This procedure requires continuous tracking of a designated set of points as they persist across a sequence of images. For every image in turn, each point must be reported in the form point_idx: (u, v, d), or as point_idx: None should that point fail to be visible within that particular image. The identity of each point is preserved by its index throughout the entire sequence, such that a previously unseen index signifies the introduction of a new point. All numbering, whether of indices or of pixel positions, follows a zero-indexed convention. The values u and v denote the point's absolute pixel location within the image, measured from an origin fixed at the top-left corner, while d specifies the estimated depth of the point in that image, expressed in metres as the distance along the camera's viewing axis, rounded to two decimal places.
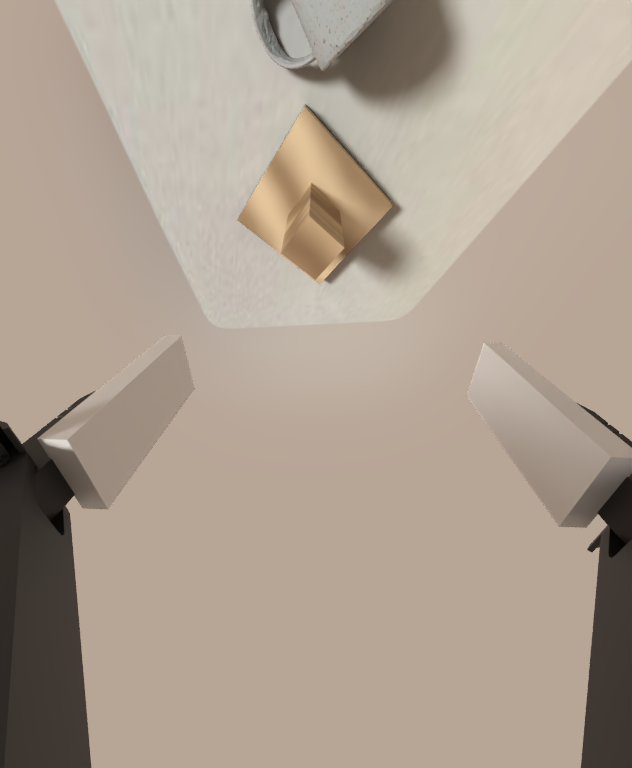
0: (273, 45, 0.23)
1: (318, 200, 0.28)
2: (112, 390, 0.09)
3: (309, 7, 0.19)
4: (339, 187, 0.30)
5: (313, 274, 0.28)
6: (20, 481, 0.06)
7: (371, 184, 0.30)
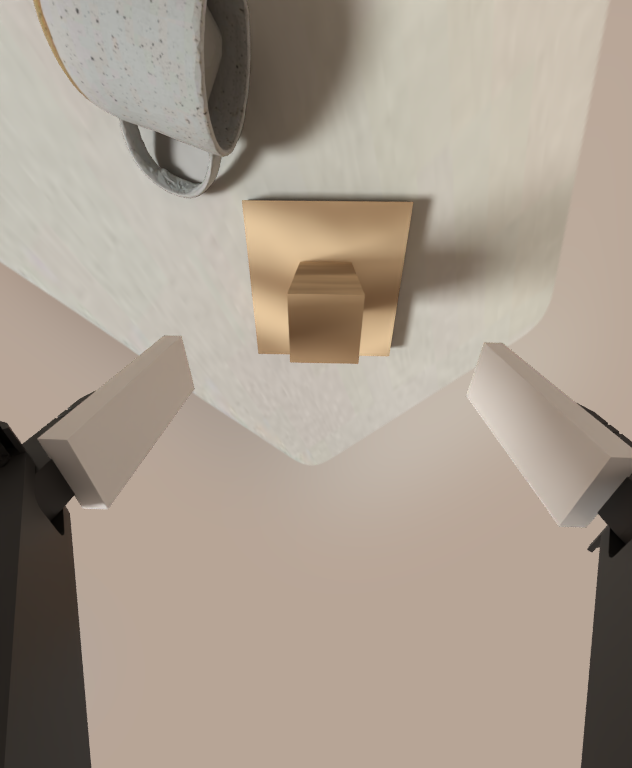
0: (184, 187, 0.21)
1: (310, 270, 0.20)
2: (112, 390, 0.09)
3: (155, 110, 0.15)
4: (332, 239, 0.22)
5: (350, 357, 0.17)
6: (20, 481, 0.06)
7: (366, 204, 0.21)
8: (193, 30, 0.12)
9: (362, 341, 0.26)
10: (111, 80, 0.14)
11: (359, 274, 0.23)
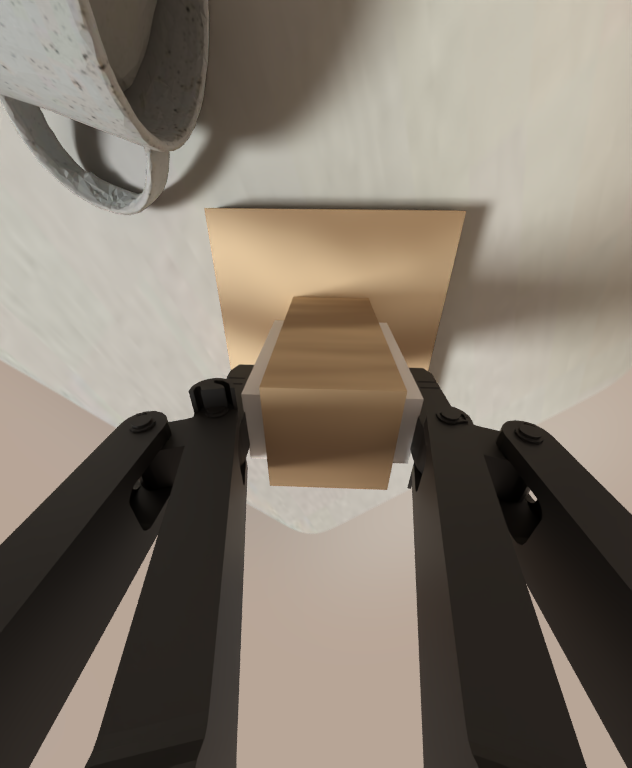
0: (120, 198, 0.14)
1: (307, 317, 0.13)
2: None
3: (18, 64, 0.08)
4: (341, 266, 0.15)
5: (373, 481, 0.10)
6: (233, 434, 0.08)
7: (394, 214, 0.13)
8: None
9: None
10: None
11: (379, 314, 0.16)
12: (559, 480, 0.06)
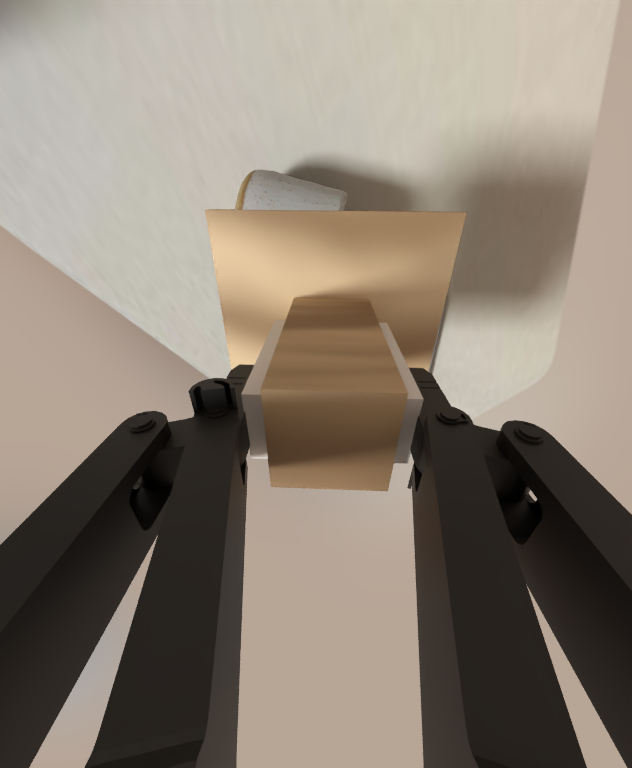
0: None
1: (308, 318, 0.13)
2: (269, 361, 0.11)
3: None
4: (341, 267, 0.15)
5: (374, 483, 0.10)
6: (233, 434, 0.08)
7: (394, 215, 0.13)
8: None
9: None
10: None
11: (379, 315, 0.16)
12: (559, 480, 0.06)
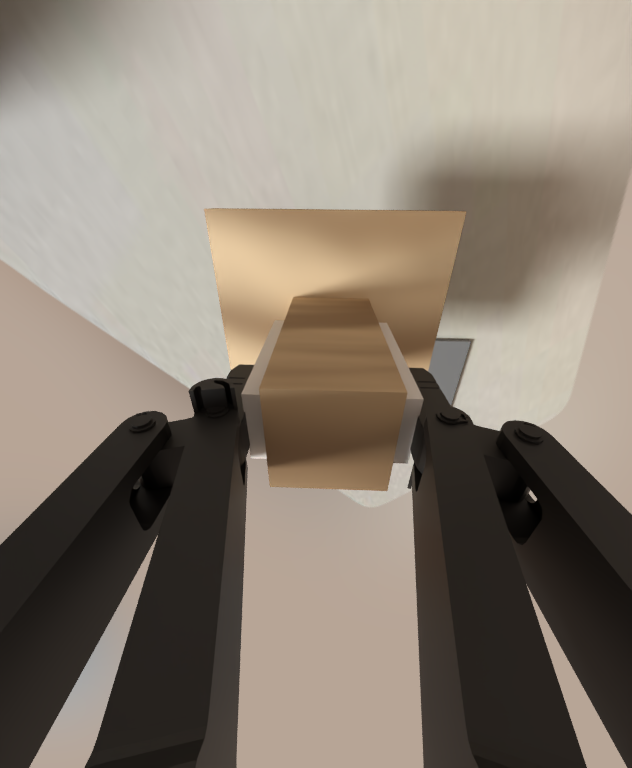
0: None
1: (307, 317, 0.13)
2: None
3: None
4: (341, 266, 0.15)
5: (373, 482, 0.10)
6: (233, 433, 0.08)
7: (394, 214, 0.13)
8: None
9: None
10: None
11: (379, 315, 0.16)
12: (559, 480, 0.06)
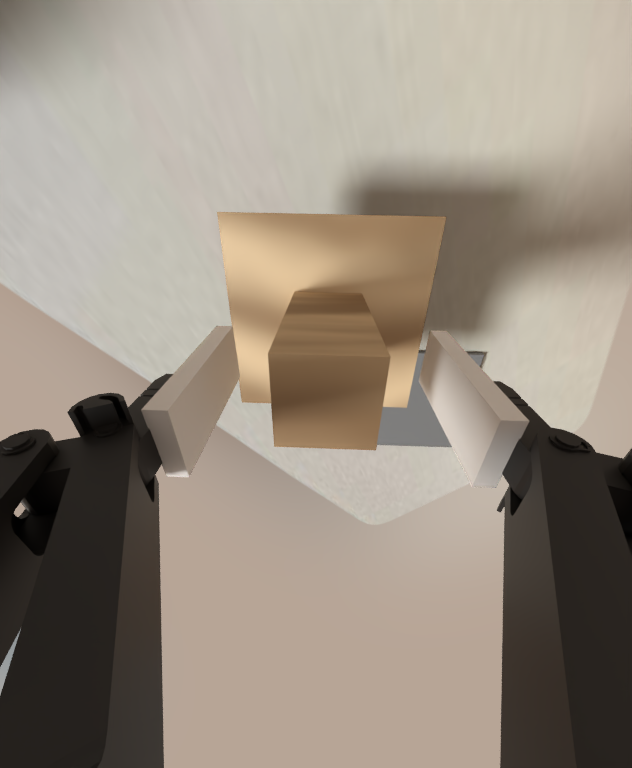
0: None
1: (307, 306, 0.15)
2: (189, 371, 0.10)
3: None
4: (337, 264, 0.17)
5: (364, 442, 0.11)
6: (129, 449, 0.07)
7: (384, 218, 0.15)
8: None
9: None
10: None
11: (371, 308, 0.18)
12: None
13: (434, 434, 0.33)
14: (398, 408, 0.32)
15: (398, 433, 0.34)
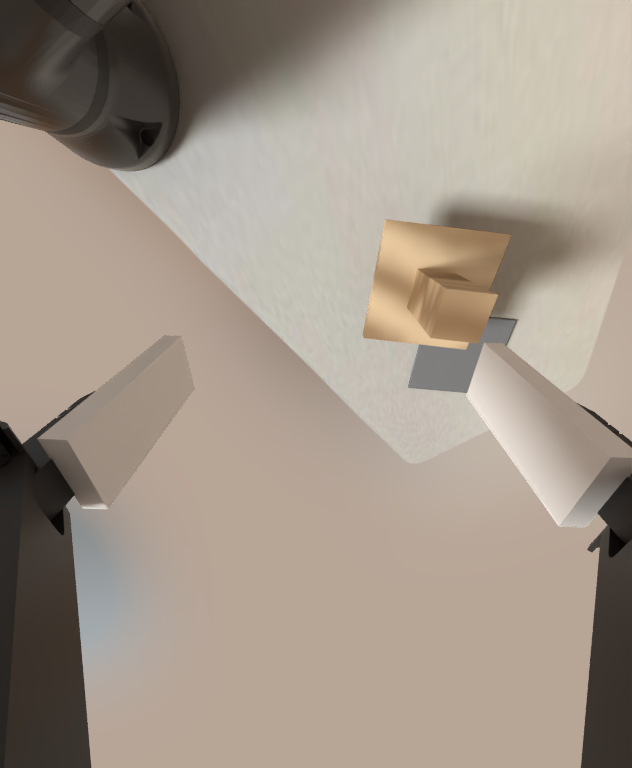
0: None
1: (436, 275, 0.27)
2: (112, 390, 0.09)
3: None
4: (446, 255, 0.29)
5: (474, 338, 0.24)
6: (20, 481, 0.06)
7: (477, 232, 0.28)
8: None
9: None
10: None
11: None
12: None
13: None
14: (450, 359, 0.44)
15: (446, 380, 0.45)
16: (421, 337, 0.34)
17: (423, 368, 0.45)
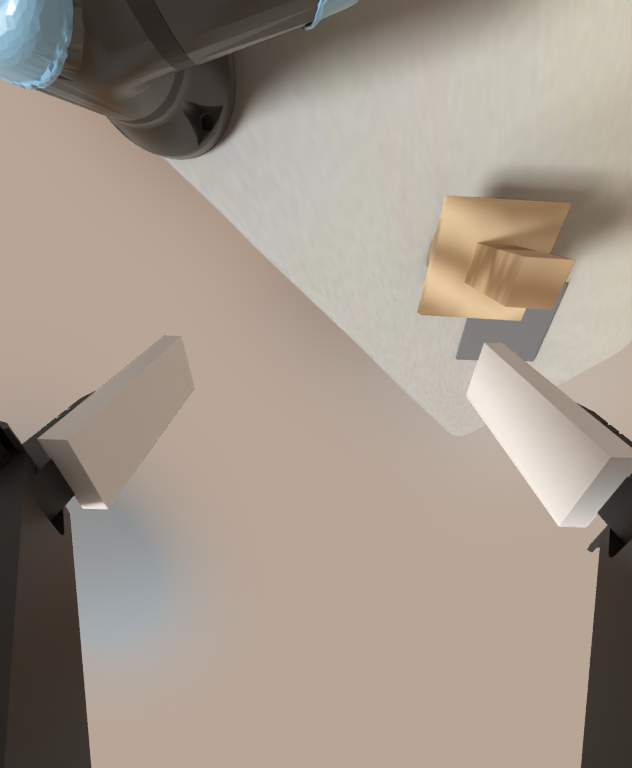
0: None
1: (501, 247, 0.28)
2: (112, 390, 0.09)
3: None
4: (505, 227, 0.30)
5: (548, 304, 0.25)
6: (20, 481, 0.06)
7: (538, 202, 0.29)
8: None
9: (503, 308, 0.34)
10: None
11: None
12: None
13: (521, 350, 0.46)
14: (499, 328, 0.44)
15: None
16: (476, 311, 0.35)
17: (472, 338, 0.45)
